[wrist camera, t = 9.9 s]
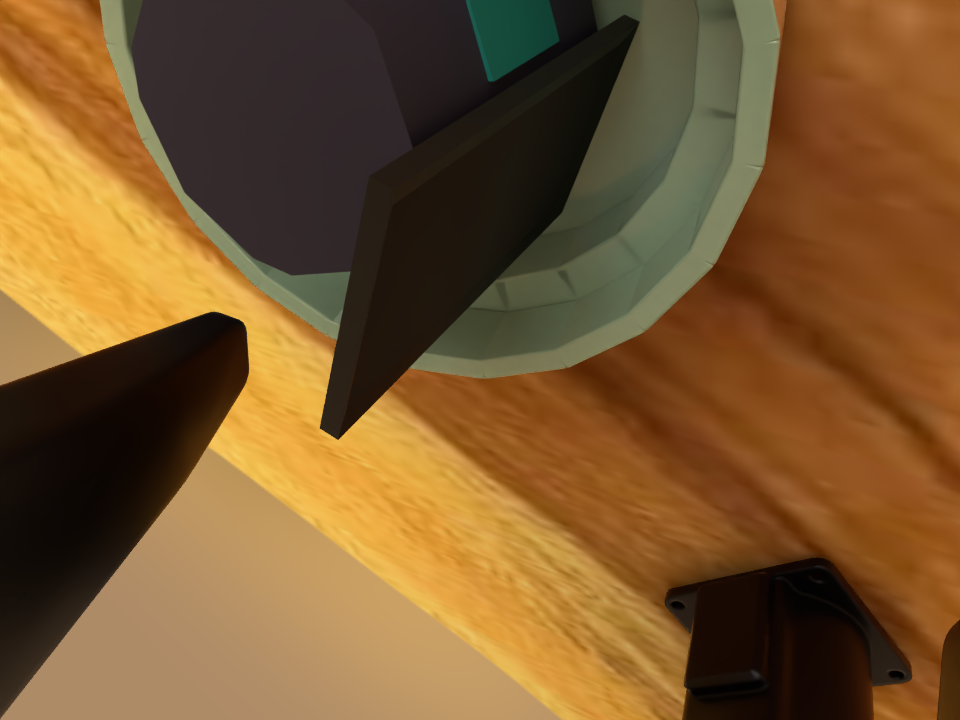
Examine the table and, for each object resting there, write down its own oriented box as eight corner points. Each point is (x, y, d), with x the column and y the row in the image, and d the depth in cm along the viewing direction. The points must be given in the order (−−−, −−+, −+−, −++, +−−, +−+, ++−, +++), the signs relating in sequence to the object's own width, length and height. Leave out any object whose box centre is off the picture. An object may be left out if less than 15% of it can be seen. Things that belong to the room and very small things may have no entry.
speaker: (719, 59, 17) (546, 284, 10) (559, 215, 21) (351, 459, 14) (472, -200, 17) (85, -167, 9) (355, 12, 21) (19, 155, 13)
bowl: (909, 100, 17) (931, 200, 14) (465, 343, 26) (405, 444, 22) (513, -596, 13) (389, -725, 9) (140, -26, 22) (0, 23, 18)
